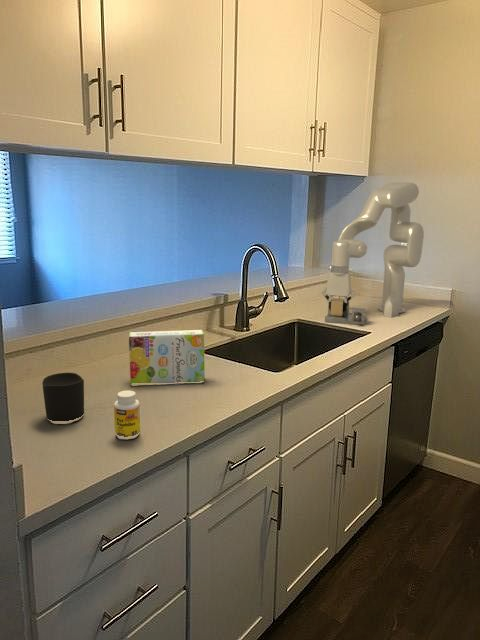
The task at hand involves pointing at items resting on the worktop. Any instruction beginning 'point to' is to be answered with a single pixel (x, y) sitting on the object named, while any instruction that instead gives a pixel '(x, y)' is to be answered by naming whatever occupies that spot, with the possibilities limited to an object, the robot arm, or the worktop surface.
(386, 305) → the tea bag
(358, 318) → the lock pin
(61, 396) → the pen holder
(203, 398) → the worktop surface
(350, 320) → the bracket
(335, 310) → the block
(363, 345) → the worktop surface
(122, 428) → the supplement bottle
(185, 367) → the snack box
